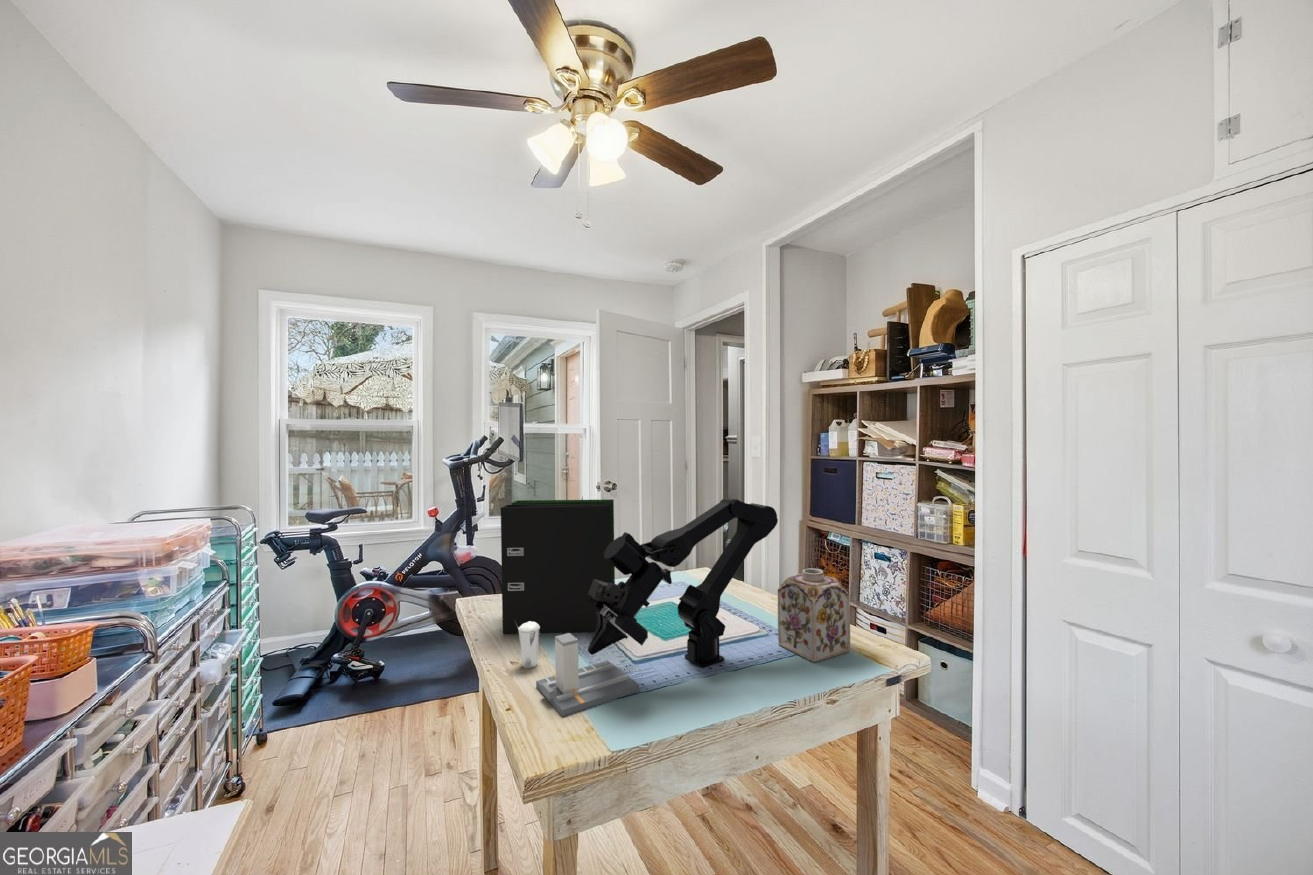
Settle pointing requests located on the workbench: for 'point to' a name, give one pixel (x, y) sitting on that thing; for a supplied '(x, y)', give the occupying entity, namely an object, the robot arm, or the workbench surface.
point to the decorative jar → (813, 615)
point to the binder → (554, 562)
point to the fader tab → (566, 663)
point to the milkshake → (529, 643)
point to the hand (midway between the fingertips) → (589, 652)
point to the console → (589, 688)
